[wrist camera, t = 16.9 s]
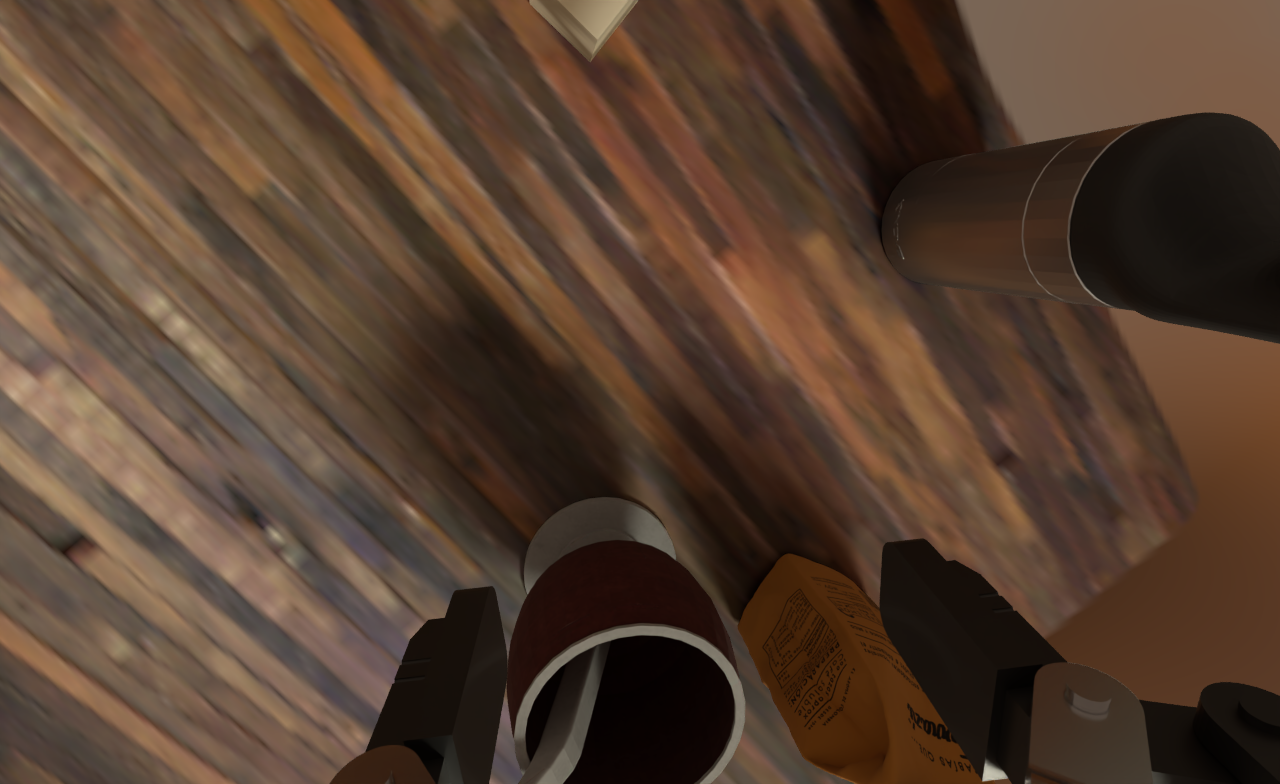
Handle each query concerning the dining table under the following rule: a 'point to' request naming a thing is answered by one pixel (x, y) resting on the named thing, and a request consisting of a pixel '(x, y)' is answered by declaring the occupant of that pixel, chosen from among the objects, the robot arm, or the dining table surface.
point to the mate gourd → (618, 657)
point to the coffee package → (845, 681)
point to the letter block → (585, 20)
